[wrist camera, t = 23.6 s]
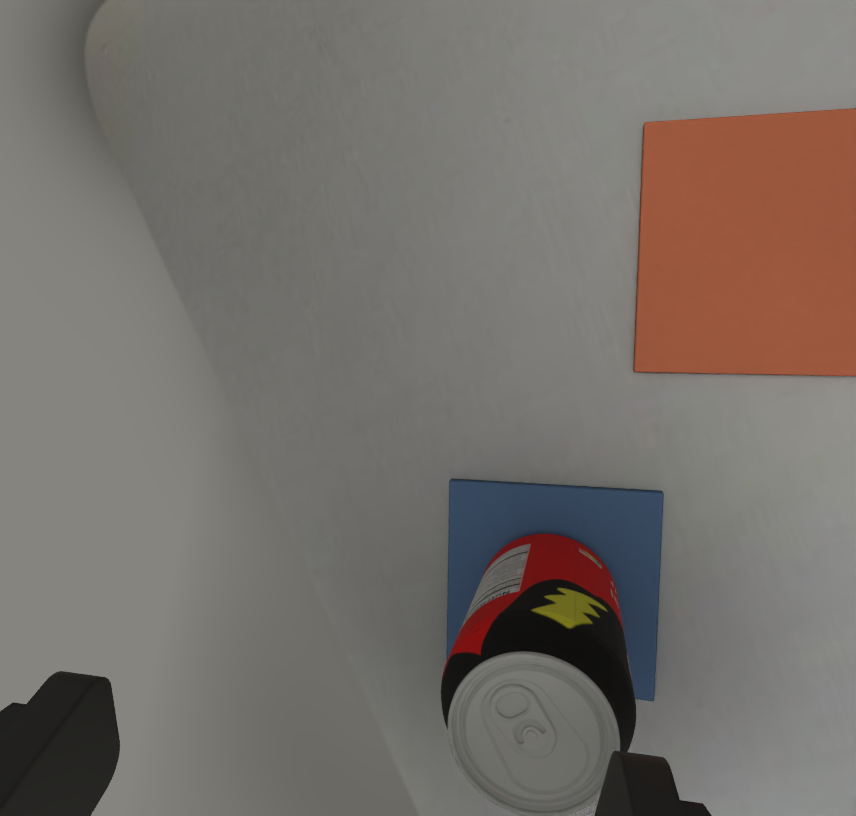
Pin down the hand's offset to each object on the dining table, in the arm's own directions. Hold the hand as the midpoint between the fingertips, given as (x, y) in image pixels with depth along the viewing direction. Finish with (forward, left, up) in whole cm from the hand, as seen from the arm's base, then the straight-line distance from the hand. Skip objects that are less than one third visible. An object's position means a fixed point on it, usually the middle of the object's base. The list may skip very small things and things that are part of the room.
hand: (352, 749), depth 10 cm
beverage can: (+2, -5, -21) cm, 22 cm away
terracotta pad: (+11, +11, -22) cm, 27 cm away
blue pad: (+2, -5, -22) cm, 22 cm away
